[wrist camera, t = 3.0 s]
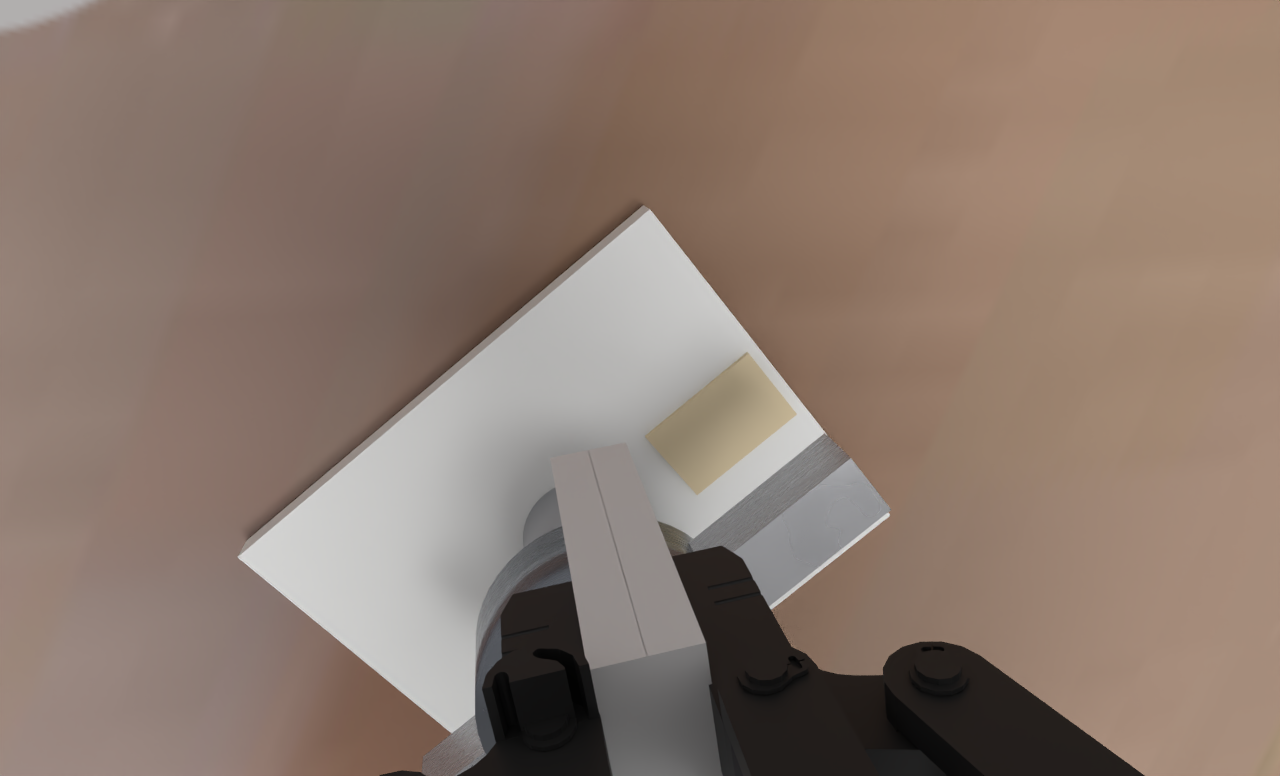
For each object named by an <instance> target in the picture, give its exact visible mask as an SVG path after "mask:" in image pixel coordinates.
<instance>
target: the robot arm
mask: <svg viewBox="0 0 1280 776" xmlns="http://www.w3.org/2000/svg"><path fill="white" fill-rule="evenodd" d="M550 460H551V466H552V472H553V477H554V483H555V489H556V494H557V500H558V506H559V511H560V517H561V523H562V528H563V534H564V540H565V545H566V551H567V557H568V562H569V568H570V574H571V579H572V581H570V582H565V583H561V584H556V585H552V586H547V587H543V588H538V589H534V590H529V591H525V592H520V593H516V594H512V596H511V598H510V600H509V601H508V603H507V605H506V606H505V608H504V610H503V612H502V613H501V615H500V618H501V639H502V640H501V653H502V659H500V660H499V661H497V662H496V663H495V665H494V666H493V667H492V668H491V669H490V671H489V672H488V673H487V674H486V676H485V680H484V683H483V687H482V692H483V695H484V699H485V703H486V707H487V711H488V715H489V718H490V722H491V726H492V730H493V734H494V738H495V742H496V744H495V745H494V746H493V747H492V749H491V750H490V751H489V752H488V754H487V755H486V756H484V757H483V758H482V759H481V760H480V761H479V762H478V763H476V764H475V765H474V766H472V767H471V768H469V769H467V770H466V771H464V772H462V773H461V774H459V775H457V776H1144V775H1143V774H1142V773H1140V772H1139V771H1138V770H1136V769H1135V768H1133V767H1132V766H1131V765H1129V764H1128V763H1127V762H1125V761H1124V760H1122V759H1121V758H1120V757H1118V756H1117V755H1116V754H1114V753H1113V752H1111V751H1110V750H1109V749H1107V748H1106V747H1105V746H1103V745H1102V744H1100V743H1099V742H1098V741H1096V740H1095V739H1094V738H1092V737H1091V736H1090V735H1088V734H1087V733H1085V732H1084V731H1083V730H1081V729H1080V728H1079V727H1077V726H1076V725H1074V724H1073V723H1072V722H1070V721H1069V720H1068V719H1066V718H1065V717H1063V716H1062V715H1061V714H1059V713H1058V712H1057V711H1055V710H1054V709H1052V708H1051V707H1050V706H1048V705H1047V704H1046V703H1044V702H1043V701H1041V700H1040V699H1039V698H1037V697H1036V696H1035V695H1033V694H1032V693H1031V692H1029V691H1028V690H1026V689H1025V688H1024V687H1022V686H1021V685H1020V684H1018V683H1017V682H1015V681H1014V680H1013V679H1011V678H1010V677H1009V676H1007V675H1006V674H1004V673H1003V672H1002V671H1000V670H999V669H998V668H996V667H995V666H993V665H992V664H991V663H989V662H988V661H987V660H985V659H984V658H983V657H981V656H980V655H978V654H976V653H974V652H972V651H970V650H968V649H966V648H964V647H962V646H958V645H954V644H950V643H945V642H919V643H915V644H911V645H907V646H904V647H902V648H900V649H899V650H897V651H896V652H894V653H893V654H892V655H890V656H889V658H888V660H887V662H886V663H885V665H884V667H883V675H874V676H853V675H841V674H834V673H830V672H826V671H822V670H820V669H818V667H817V665H816V664H815V663H814V662H813V661H812V660H811V659H810V658H809V657H808V656H807V654H805V653H803V652H801V651H799V650H797V649H795V648H792V647H791V646H790V644H789V642H788V640H787V638H786V637H785V635H784V633H783V631H782V629H781V627H780V626H779V624H778V622H777V620H776V618H775V617H774V615H773V613H772V611H771V609H770V607H769V606H768V604H767V602H766V600H765V598H764V597H763V595H761V591H760V589H759V588H758V586H757V584H756V582H755V580H753V577H752V575H751V573H750V571H749V569H748V568H747V566H746V564H745V562H744V560H743V559H742V558H741V557H739V556H738V555H736V554H735V553H733V552H731V551H730V550H728V549H727V548H725V547H724V546H717V547H713V548H708V549H704V550H699V551H695V552H690V553H686V554H681V555H677V556H672V557H671V554H670V552H669V549H668V547H667V544H666V542H665V539H664V537H663V534H662V532H661V529H660V527H659V524H658V522H657V519H656V517H655V514H654V512H653V509H652V507H651V504H650V502H649V499H648V497H647V494H646V492H645V489H644V487H643V484H642V482H641V479H640V477H639V474H638V472H637V469H636V467H635V464H634V462H633V459H632V457H631V454H630V452H629V449H628V447H627V444H626V442H625V443H620V444H615V445H610V446H605V447H601V448H596V449H591V450H586V451H581V452H576V453H571V454H567V455H562V456H557V457H552V458H550ZM380 776H426V775H424V774H423V773H421V772H412V771H397V772H393V773H388V774H383V775H380Z"/></svg>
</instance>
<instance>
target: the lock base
mask: <svg viewBox="0 0 1280 776" xmlns="http://www.w3.org/2000/svg"><path fill="white" fill-rule="evenodd" d="M824 433H825V432H824V430H823V429H822V428H821V426H820V425H819V424H818V423H817V421H816V420H815V419H814V418H813V416H812V415H811V414H810V412H809V411H808V410H807V409H806V407H805V406H804V405H803V404H802V402H801V401H800V400H799V398H798V397H797V396H796V395H795V393H794V392H793V391H792V390H791V388H790V387H789V386H788V384H787V383H786V382H785V381H784V379H783V378H782V377H781V376H780V374H779V373H778V372H777V370H776V369H775V368H774V367H773V365H772V364H771V363H770V361H769V360H768V359H767V358H766V356H765V355H764V354H763V353H762V351H761V350H760V349H759V347H758V346H757V345H756V344H755V342H754V341H753V340H752V339H751V337H750V336H749V335H748V333H747V332H746V331H745V330H744V328H743V327H742V326H741V325H740V323H739V322H738V321H737V319H736V318H735V317H734V316H733V314H732V313H731V312H730V311H729V309H728V308H727V307H726V305H725V304H724V303H723V302H722V300H721V299H720V298H719V297H718V295H717V294H716V293H715V291H714V290H713V289H712V288H711V286H710V285H709V284H708V282H707V281H706V280H705V279H704V277H703V276H702V275H701V274H700V272H699V271H698V270H697V268H696V267H695V266H694V265H693V263H692V262H691V261H690V260H689V258H688V257H687V256H686V254H685V253H684V252H683V251H682V249H681V248H680V247H679V246H678V244H677V243H676V242H675V240H674V239H673V238H672V237H671V235H670V234H669V233H668V232H667V230H666V229H665V228H664V226H663V225H662V224H661V223H660V221H659V220H658V219H657V218H656V216H655V215H654V214H653V212H652V211H651V210H650V209H649V208H647V207H646V206H644V205H643V206H642V207H641V208H639V209H638V210H637V211H636V212H635V213H633V214H632V215H631V216H630V217H629V218H628V219H626V220H625V221H624V222H623V223H622V224H620V225H619V226H618V227H617V228H616V229H615V230H613V231H612V232H611V233H610V234H609V235H607V236H606V237H605V238H604V239H603V240H602V241H600V242H599V243H598V244H597V245H596V246H594V247H593V248H592V249H591V250H590V251H589V252H587V253H586V254H585V255H584V256H583V257H581V258H580V259H579V260H578V261H577V262H576V263H574V264H573V265H572V266H571V267H570V268H568V269H567V270H566V271H565V272H564V273H562V274H561V275H560V276H559V277H558V278H557V279H555V280H554V281H553V282H552V283H551V284H549V285H548V286H547V287H546V288H545V289H544V290H542V291H541V292H540V293H539V294H538V295H536V296H535V297H534V298H533V299H532V300H531V301H529V302H528V303H527V304H526V305H525V306H523V307H522V308H521V309H520V310H519V311H518V312H516V313H515V314H514V315H513V316H512V317H510V318H509V319H508V320H507V321H506V322H504V323H503V324H502V325H501V326H500V327H499V328H497V329H496V330H495V331H494V332H493V333H491V334H490V335H489V336H488V337H487V338H486V339H484V340H483V341H482V342H481V343H480V344H478V345H477V346H476V347H475V348H474V349H473V350H471V351H470V352H469V353H468V354H467V355H465V356H464V357H463V358H462V359H461V360H460V361H458V362H457V363H456V364H455V365H454V366H452V367H451V368H450V369H449V370H448V371H447V372H445V373H444V374H443V375H442V376H441V377H439V378H438V379H437V380H436V381H435V382H433V383H432V384H431V385H430V386H429V387H428V388H426V389H425V390H424V391H423V392H422V393H420V394H419V395H418V396H417V397H416V398H415V399H413V400H412V401H411V402H410V403H409V404H407V405H406V406H405V407H404V408H403V409H402V410H400V411H399V412H398V413H397V414H396V415H394V416H393V417H392V418H391V419H390V420H389V421H387V422H386V423H385V424H384V425H383V426H381V427H380V428H379V429H378V430H377V431H376V432H374V433H373V434H372V435H371V436H370V437H368V438H367V439H366V440H365V441H364V442H362V443H361V444H360V445H359V446H358V447H357V448H355V449H354V450H353V451H352V452H351V453H349V454H348V455H347V456H346V457H345V458H344V459H342V460H341V461H340V462H339V463H338V464H336V465H335V466H334V467H333V468H332V469H331V470H329V471H328V472H327V473H326V474H325V475H323V476H322V477H321V478H320V479H319V480H318V481H316V482H315V483H314V484H313V485H312V486H310V487H309V488H308V489H307V490H306V491H304V492H303V493H302V494H301V495H300V496H299V497H297V498H296V499H295V500H294V501H293V502H291V503H290V504H289V505H288V506H287V507H286V508H284V509H283V510H282V511H281V512H280V513H278V514H277V515H276V516H275V517H274V518H273V519H271V520H270V521H269V522H268V523H267V524H265V525H264V526H263V527H262V528H261V529H260V530H258V531H257V532H256V533H255V534H254V535H252V536H251V537H250V538H249V539H248V540H247V541H246V543H245V544H244V546H243V548H242V550H241V552H240V554H239V555H238V558H239V559H240V560H241V561H243V562H244V563H245V564H246V565H247V566H249V567H250V568H251V569H252V570H254V571H255V572H256V573H257V574H258V575H260V576H261V577H262V578H263V579H265V580H266V581H267V582H268V583H269V584H271V585H272V586H273V587H274V588H275V589H277V590H278V591H279V592H280V593H282V594H283V595H284V596H285V597H286V598H288V599H289V600H290V601H291V602H292V603H294V604H295V605H296V606H297V607H299V608H300V609H301V610H302V611H303V612H305V613H306V614H307V615H308V616H309V617H311V618H312V619H313V620H314V621H316V622H317V623H318V624H319V625H320V626H322V627H323V628H324V629H325V630H327V631H328V632H329V633H330V634H331V635H333V636H334V637H335V638H336V639H337V640H339V641H340V642H341V643H342V644H344V645H345V646H346V647H347V648H348V649H350V650H351V651H352V652H353V653H354V654H356V655H357V656H358V657H359V658H361V659H362V660H363V661H364V662H365V663H367V664H368V665H369V666H370V667H371V668H373V669H374V670H375V671H376V672H378V673H379V674H380V675H381V676H382V677H384V678H385V679H386V680H387V681H389V682H390V683H391V684H392V685H393V686H395V687H396V688H397V689H398V690H399V691H401V692H402V693H403V694H404V695H406V696H407V697H408V698H409V699H410V700H412V701H413V702H414V703H415V704H416V705H418V706H419V707H420V708H421V709H423V710H424V711H425V712H426V713H427V714H429V715H430V716H431V717H432V718H433V719H435V720H436V721H437V722H438V723H440V724H441V725H442V726H443V727H444V728H446V729H447V730H448V731H449V732H451V733H453V732H454V731H456V730H457V729H458V728H459V727H461V726H462V725H463V724H464V723H465V722H467V721H468V720H469V719H470V718H472V717H473V716H474V715H475V659H476V629H477V621H478V616H479V613H480V609H481V606H482V603H483V600H484V598H485V596H486V594H487V592H488V590H489V588H490V586H491V584H492V583H493V581H494V580H495V578H496V577H497V575H498V574H499V572H500V571H501V570H502V569H503V568H504V566H505V565H506V564H507V563H508V562H509V561H510V560H511V559H512V558H513V557H514V556H515V555H516V554H517V553H518V552H519V551H520V550H521V549H523V548H524V547H526V546H527V545H528V544H530V543H531V542H532V541H534V540H535V539H537V538H539V537H540V536H542V535H544V534H546V533H548V532H549V531H551V530H553V529H556V528H558V527H561V526H562V523H561V517H560V511H559V506H558V500H557V494H556V489H555V483H554V477H553V472H552V466H551V460H550V458H552V457H557V456H562V455H567V454H571V453H576V452H581V451H586V450H591V449H596V448H601V447H605V446H610V445H615V444H620V443H625V442H626V444H627V447H628V449H629V452H630V454H631V457H632V459H633V462H634V464H635V467H636V469H637V472H638V474H639V477H640V479H641V482H642V484H643V487H644V489H645V492H646V494H647V497H648V499H649V502H650V504H651V507H652V509H653V512H654V514H655V517H656V519H657V521H659V522H662V523H665V524H668V525H671V526H673V527H675V528H677V529H679V530H680V531H682V532H684V533H686V534H687V535H689V536H690V537H692V538H693V539H694V538H695V537H696V536H698V535H699V534H700V533H701V532H702V531H704V530H705V529H706V528H707V527H709V526H710V525H711V524H712V523H714V522H715V521H716V520H717V519H719V518H720V517H721V516H722V515H724V514H725V513H726V512H727V511H729V510H730V509H731V508H732V507H733V506H735V505H736V504H737V503H738V502H740V501H741V500H742V499H743V498H745V497H746V496H747V495H748V494H750V493H751V492H752V491H753V490H755V489H756V488H757V487H758V486H760V485H761V484H762V483H763V482H765V481H766V480H767V479H768V478H769V477H771V476H772V475H773V474H774V473H776V472H777V471H778V470H779V469H781V468H782V467H783V466H784V465H786V464H787V463H788V462H789V461H791V460H792V459H793V458H794V457H796V456H797V455H798V454H799V453H801V452H802V451H803V450H804V449H805V448H807V447H808V446H809V445H810V444H812V443H813V442H814V441H815V440H817V439H818V438H819V437H820V436H822V435H823V434H824ZM825 434H826V433H825ZM826 435H827V434H826ZM827 436H828V435H827ZM889 516H890V514H889V513H886V514H885V515H884V516H883V517H881V518H880V519H879V520H878V521H876V522H875V523H874V524H873V525H871V526H870V527H869V528H867V529H866V530H865V531H864V532H862V533H861V534H860V535H859V536H857V537H856V538H855V539H854V540H852V541H851V542H850V543H849V544H847V545H846V546H845V547H844V548H842V549H841V550H840V551H838V552H837V553H836V554H835V555H833V556H832V557H831V558H830V559H828V560H827V561H826V562H825V563H823V564H822V565H821V566H820V567H818V568H817V569H816V570H814V571H813V572H812V573H811V574H809V575H808V576H807V577H806V578H804V579H803V580H802V581H801V582H799V583H798V584H797V585H796V586H794V587H793V588H792V589H791V590H789V591H788V592H787V593H785V594H784V595H783V596H782V597H780V598H779V599H778V600H777V601H775V602H774V603H773V604H772V605H770V606H769V607H770V609H771V610H772V609H773V608H774V607H775V606H777V605H778V604H779V603H780V602H782V601H783V600H784V599H786V598H787V597H788V596H789V595H791V594H792V593H793V592H794V591H796V590H797V589H798V588H799V587H801V586H802V585H803V584H804V583H806V582H807V581H808V580H810V579H811V578H812V577H813V576H815V575H816V574H817V573H818V572H820V571H821V570H822V569H823V568H825V567H826V566H827V565H828V564H830V563H831V562H832V561H834V560H835V559H836V558H837V557H839V556H840V555H841V554H842V553H844V552H845V551H846V550H847V549H849V548H850V547H851V546H852V545H854V544H855V543H856V542H858V541H859V540H860V539H861V538H863V537H864V536H865V535H866V534H868V533H869V532H870V531H871V530H873V529H874V528H875V527H876V526H878V525H879V524H880V523H881V522H883V521H884V520H885V519H887V518H888V517H889Z"/></svg>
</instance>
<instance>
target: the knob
mask: <svg viewBox="0 0 1280 776" xmlns="http://www.w3.org/2000/svg"><path fill="white" fill-rule="evenodd" d="M890 510H891V509H890V508H889V506H888V505H887V504H886V502H885V501H884V500H883V499H882V497H881V496H880V495H879V493H878V492H877V491H876V490H875V488H874V487H873V486H872V484H871V483H870V482H869V481H868V479H867V478H866V477H865V476H864V474H863V473H862V472H861V470H860V469H859V468H858V467H857V465H856V464H855V463H854V461H853V460H852V459H851V458H850V457H849V456H848V455H847V454H846V453H845V452H844V451H843V450H842V449H841V448H840V447H839V446H838V445H837V444H836V443H835V442H834V441H833V440H832V439H830V438H829V437H828V436H827V435H826V434H825V433H824V434H823V435H822V436H820V437H819V438H818V439H817V440H815V441H814V442H813V443H812V444H810V445H809V446H808V447H807V448H805V449H804V450H803V451H802V452H801V453H799V454H798V455H797V456H796V457H794V458H793V459H792V460H791V461H789V462H788V463H787V464H786V465H784V466H783V467H782V468H781V469H779V470H778V471H777V472H776V473H774V474H773V475H772V476H771V477H769V478H768V479H767V480H766V481H765V482H763V483H762V484H761V485H760V486H758V487H757V488H756V489H755V490H753V491H752V492H751V493H750V494H748V495H747V496H746V497H745V498H743V499H742V500H741V501H740V502H738V503H737V504H736V505H735V506H733V507H732V508H731V509H730V510H729V511H727V512H726V513H725V514H724V515H722V516H721V517H720V518H719V519H717V520H716V521H715V522H714V523H712V524H711V525H710V526H709V527H707V528H706V529H705V530H704V531H702V532H701V533H700V534H699V535H698V536H696V537H695V538H694V539H693V538H692V537H690V536H689V535H687V534H686V533H684V532H682V531H680V530H679V529H677V528H675V527H673V526H671V525H668V524H665V523H662V522H659V521H657V522H658V524H659V527H660V529H661V532H662V534H663V537H664V539H665V542H666V544H667V547H668V549H669V552H670V554H671V557H672V556H677V555H681V554H686V553H690V552H695V551H699V550H704V549H708V548H713V547H717V546H724V547H725V548H727V549H728V550H730V551H731V552H733V553H735V554H736V555H738V556H739V557H741V558H742V559H743V560H744V562H745V564H746V566H747V568H748V569H749V571H750V573H751V575H752V577H753V580H755V582H756V584H757V586H758V588H759V589H760V591H761V595H763V597H764V598H765V600H766V602H767V604H768V606H770V605H772V604H773V603H774V602H775V601H777V600H778V599H779V598H780V597H782V596H783V595H784V594H785V593H787V592H788V591H789V590H791V589H792V588H793V587H794V586H796V585H797V584H798V583H799V582H801V581H802V580H803V579H804V578H806V577H807V576H808V575H809V574H811V573H812V572H813V571H814V570H816V569H817V568H818V567H820V566H821V565H822V564H823V563H825V562H826V561H827V560H828V559H830V558H831V557H832V556H833V555H835V554H836V553H837V552H838V551H840V550H841V549H842V548H844V547H845V546H846V545H847V544H849V543H850V542H851V541H852V540H854V539H855V538H856V537H857V536H859V535H860V534H861V533H862V532H864V531H865V530H866V529H867V528H869V527H870V526H871V525H873V524H874V523H875V522H876V521H878V520H879V519H880V518H881V517H883V516H884V515H885V514H886V513H888V512H889V511H890ZM570 581H572V579H571V574H570V568H569V562H568V557H567V551H566V545H565V540H564V534H563V528H562V526H561V527H558V528H556V529H553V530H551V531H549V532H548V533H546V534H544V535H542V536H540V537H539V538H537V539H535V540H534V541H532V542H531V543H530V544H528V545H527V546H526V547H524V548H523V549H521V550H520V551H519V552H518V553H517V554H516V555H515V556H514V557H513V558H512V559H511V560H510V561H509V562H508V563H507V564H506V565H505V566H504V568H503V569H502V570H501V571H500V572H499V574H498V575H497V577H496V578H495V580H494V581H493V583H492V584H491V586H490V588H489V590H488V592H487V594H486V596H485V598H484V600H483V603H482V606H481V609H480V613H479V616H478V621H477V629H476V659H475V715H474V716H473V717H472V718H470V719H469V720H468V721H467V722H465V723H464V724H463V725H462V726H461V727H459V728H458V729H457V730H456V731H454V732H453V733H452V734H451V735H449V736H448V737H447V738H446V739H444V740H443V741H442V742H441V743H439V744H438V745H437V746H436V747H434V748H433V749H432V750H431V751H429V752H428V753H427V754H426V755H425V756H423V765H422V773H423V774H424V775H426V776H457V775H459V774H461V773H462V772H464V771H466V770H467V769H469V768H471V767H472V766H474V765H475V764H476V763H478V762H479V761H480V760H481V759H482V758H483V757H484V756H486V755H487V754H488V752H489V751H490V750H491V749H492V747H493V746H494V745H495V744H496V742H495V738H494V734H493V730H492V726H491V722H490V718H489V715H488V711H487V707H486V703H485V699H484V695H483V692H482V687H483V683H484V680H485V676H486V674H487V673H488V672H489V671H490V669H491V668H492V667H493V666H494V665H495V663H496V662H497V661H499V660H500V659H502V653H501V640H502V639H501V618H500V615H501V613H502V612H503V610H504V608H505V606H506V605H507V603H508V601H509V600H510V598H511V596H512V594H516V593H520V592H525V591H529V590H534V589H538V588H543V587H547V586H552V585H556V584H561V583H565V582H570Z"/></svg>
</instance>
